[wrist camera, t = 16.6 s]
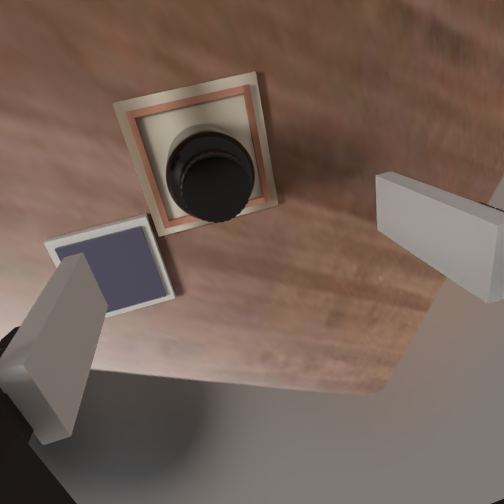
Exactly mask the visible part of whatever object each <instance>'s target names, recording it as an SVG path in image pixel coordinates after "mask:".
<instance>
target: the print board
mask: <svg viewBox="0 0 504 504" xmlns="http://www.w3.org/2000/svg"><path fill="white" fill-rule="evenodd" d="M112 104H113V107H114V110H115V113H116V116H117V119H118V122H119V124H120V127H121V130H122V133H123V136H124V139H125V141H126V144H127V147H128V150H129V153H130V156H131V159H132V161H133V164H134V167H135V170H136V173H137V176H138V179H139V181H140V184H141V187H142V190H143V193H144V196H145V199H146V201H147V204H148V207H149V210H150V213H151V216H152V218H153V221H154V224H155V227H156V230H157V233H158V236H159V237H160V236H164V235H168V234H172V233H175V232H179V231H183V230H187V229H190V228H194V227H198V226H202V225H206V224H209V223H213V222H208V221H203V220H201V219H198V218H195V217H192V216H190V215H189V214H187V213H185V212H184V211H183V210H181V209H180V208H179V207H178V206H177V204H176V203H175V202H174V200H173V199H172V197H171V195H170V193H169V191H168V187H167V183H166V165H167V157H168V152H169V148H170V146H171V143H172V142H173V140H174V138H175V137H176V136H177V135H178V134H179V133H180V132H181V131H183V130H184V129H186V128H188V127H190V126H193V125H198V124H207V125H212V126H215V127H218V128H220V129H222V130H223V131H225V132H226V133H228V134H229V135H231V136H232V137H234V138H235V139H237V140H238V141H239V142H240V143H241V144H242V145H243V146H244V147H245V149H246V150H247V151H248V153H249V155H250V157H251V159H252V161H253V165H254V169H255V183H254V188H253V191H252V194H251V196H250V198H249V200H248V203H247V204H246V206H245V209H243V210H242V211H241V213H240V214H238V215H237V216H240V215H244V214H247V213H251V212H255V211H259V210H263V209H266V208H270V207H274V206H278V200H277V194H276V188H275V182H274V176H273V170H272V165H271V159H270V153H269V147H268V141H267V135H266V129H265V124H264V118H263V112H262V106H261V100H260V94H259V88H258V82H257V77H256V71H255V72H250V73H246V74H241V75H237V76H232V77H228V78H223V79H219V80H214V81H210V82H205V83H201V84H196V85H191V86H187V87H182V88H178V89H173V90H169V91H164V92H160V93H155V94H151V95H146V96H142V97H137V98H133V99H128V100H124V101H119V102H115V103H112Z"/></svg>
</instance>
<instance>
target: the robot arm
mask: <svg viewBox="0 0 504 504" xmlns="http://www.w3.org/2000/svg"><path fill="white" fill-rule="evenodd" d="M375 176H376V206H377V230H378V231H379V232H381V233H382V234H384V235H385V236H387V237H388V238H390V239H391V240H393V241H394V242H396V243H397V244H399V245H400V246H402V247H403V248H405V249H406V250H408V251H409V252H411V253H412V254H414V255H415V256H417V257H418V258H420V259H421V260H423V261H424V262H426V263H427V264H429V265H430V266H431V267H433V268H434V269H436V270H437V271H439V272H440V273H442V274H443V275H445V276H446V277H448V278H449V279H451V280H452V281H454V282H455V283H457V284H458V285H460V286H461V287H463V288H464V289H466V290H467V291H469V292H470V293H472V294H473V295H475V296H476V297H478V298H479V299H481V300H482V301H484V302H485V303H487V304H490V303H493V302H496V301H499V300H502V299H504V211H503V210H501V209H498V208H494V207H492V206H489V205H487V204H484V203H480V202H474V201H471V200H469V199H466V198H463V197H460V196H458V195H455V194H452V193H449V192H447V191H444V190H441V189H438V188H436V187H433V186H430V185H427V184H425V183H422V182H419V181H416V180H414V179H411V178H408V177H405V176H403V175H400V174H397V173H394V172H392V171H390V172H386V173H382V174H379V175H375ZM107 308H108V305H107V303H106V300H105V298H104V296H103V294H102V292H101V290H100V288H99V286H98V284H97V281H96V279H95V277H94V275H93V273H92V271H91V269H90V267H89V265H88V262H87V260H86V258H85V256H84V254H83V252H82V253H79V254H75V255H71V256H67V257H64V258H63V260H62V261H61V263H60V264H59V266H58V268H57V269H56V271H55V272H54V274H53V276H52V277H51V279H50V280H49V282H48V283H47V285H46V287H45V288H44V290H43V291H42V293H41V294H40V296H39V298H38V299H37V301H36V302H35V304H34V306H33V307H32V309H31V310H30V312H29V313H28V315H27V317H26V318H25V320H24V321H23V323H22V325H21V326H19V327H16V328H14V329H13V330H12V331H11V332H9V333H8V334H7V335H6V336H5V337H4V338H3V339H2V340H1V341H0V504H76V502H75V501H74V500H73V499H72V498H71V496H70V495H69V494H68V493H67V492H66V490H65V489H64V488H63V486H62V485H61V484H60V483H59V481H58V480H57V479H56V478H55V477H54V475H53V474H52V473H51V472H50V470H49V469H48V468H47V467H46V466H45V464H44V463H43V462H42V461H41V459H40V458H39V457H38V456H37V454H36V453H35V452H34V451H33V449H32V448H31V447H30V446H29V444H28V442H29V440H30V437H31V435H32V432H34V434H35V435H36V436H37V438H38V439H39V440H40V442H41V443H42V444H43V445H45V444H48V443H51V442H54V441H57V440H61V439H63V438H67V437H70V436H71V434H72V431H73V427H74V424H75V420H76V417H77V413H78V410H79V406H80V402H81V399H82V396H83V392H84V389H85V385H86V382H87V378H88V375H89V371H90V368H91V364H92V361H93V357H94V354H95V350H96V347H97V343H98V340H99V336H100V333H101V329H102V325H103V322H104V318H105V315H106V311H107ZM492 504H504V499H502V500H499V501H497V502H494V503H492Z"/></svg>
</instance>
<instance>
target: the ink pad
mask: <svg viewBox="0 0 504 504" xmlns="http://www.w3.org/2000/svg"><path fill="white" fill-rule="evenodd" d="M44 244H45V246H46V248H47V250H48V252H49V254H50V256H51V258H52V260H53V262H54V264H55V265H56V267H57V268H58V266H59V264H60V263H61V261H62V260H63V258H64V257H67V256H71V255H75V254H79V253H82V252H83V254H84V256H85V258H86V260H87V262H88V265H89V267H90V269H91V271H92V273H93V275H94V277H95V279H96V281H97V284H98V286H99V288H100V290H101V292H102V294H103V296H104V298H105V300H106V303H107V305H108V308H107V311H106V315H105V318H107V317H111V316H114V315H118V314H121V313H125V312H128V311H132V310H135V309H139V308H142V307H146V306H149V305H153V304H156V303H160V302H164V301H167V300H171V299H174V298H175V291H174V289H173V286H172V283H171V280H170V277H169V275H168V272H167V269H166V266H165V263H164V261H163V258H162V255H161V252H160V249H159V246H158V244H157V241H156V238H155V235H154V232H153V230H152V227H151V224H150V221H149V218H148V216H147V213H146V214H142V215H138V216H134V217H130V218H127V219H123V220H119V221H115V222H111V223H107V224H103V225H99V226H95V227H91V228H87V229H84V230H80V231H76V232H72V233H68V234H64V235H60V236H56V237H52V238H48V239H46V241H45V242H44Z"/></svg>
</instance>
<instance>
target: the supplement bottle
mask: <svg viewBox="0 0 504 504" xmlns="http://www.w3.org/2000/svg"><path fill="white" fill-rule="evenodd" d="M166 183H167V187H168V191H169V193H170V195H171V197H172V199H173V200H174V202H175V203H176V204H177V206H178V207H179V208H180V209H181V210H183V211H184V212H185V213H187V214H189V215H190V216H192V217H195V218H198V219H201V220H203V221H208V222H214V223H218V222H224V221H229V220H230V219H231V218H235V217H236V216H237V215H238V214H240V213H241V211H242V210H243V209H245V206H246V204H247V203H248V200H249V198H250V196H251V194H252V191H253V188H254V183H255V169H254V165H253V161H252V159H251V157H250V155H249V153H248V151H247V150H246V149H245V147H244V146H243V145H242V144H241V143H240V142H239V141H238V140H237V139H235V138H234V137H232V136H231V135H229V134H228V133H226V132H225V131H223V130H222V129H220V128H218V127H215V126H212V125H207V124H198V125H193V126H190V127H188V128H186V129H184V130H183V131H181V132H180V133H179V134H178V135H177V136H176V137H175V138H174V140H173V142H172V143H171V146H170V148H169V152H168V157H167V165H166Z"/></svg>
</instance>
